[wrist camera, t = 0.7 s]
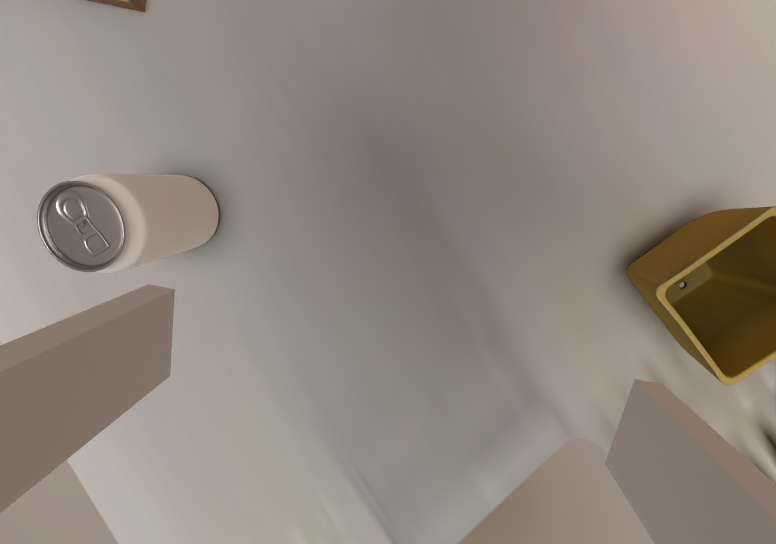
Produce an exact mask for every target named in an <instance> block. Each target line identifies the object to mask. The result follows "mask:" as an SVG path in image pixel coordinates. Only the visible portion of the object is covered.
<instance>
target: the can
mask: <svg viewBox="0 0 776 544" xmlns="http://www.w3.org/2000/svg"><path fill="white" fill-rule="evenodd" d="M218 219H219V213H218V207H217V203H216V201H215V198H214V197H213V195H212V193H211V192H210V191H209V189H208V188H207V187H206V186H205V185H204V184H202V183H201V182H200V181H198V180H196V179H194V178H192V177H188V176H183V175H154V174H89V175H83V176H79V177H76V178H74V179H72V180H70V181H66V182H62V183H60V184H57V185H55V186H54V187H52V188H51V189H50V190H49V191H48V192H47V193H46V194H45V195H44V197H43V198H42V200H41V202H40V205H39V208H38V214H37V224H38V230H39V233H40V236H41V239H42V241H43V243H44V245H45V246H46V248H47V249H48V251H49V252H50V253H51V254H52V255H53V256H54V257H55V258H56V259H57V260H58V261H59V262H61V263H62V264H64V265H65V266H67V267H69V268H71V269H74V270H77V271H82V272H95V271H96V272H103V273H110V272H117V271H122V270H125V269H129V268H132V267H136V266H139V265H142V264H146V263H149V262H152V261H155V260H159V259H162V258H165V257H168V256H171V255H175V254H178V253H181V252H184V251H187V250H190V249H193V248H196V247H199V246H201V245H203V244H205V243H206V242H207V241H208V240H209V239H210V238H211V237H212V236H213V234H214V233H215V231H216V228H217V225H218Z"/></svg>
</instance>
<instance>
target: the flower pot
mask: <svg viewBox="0 0 776 544" xmlns="http://www.w3.org/2000/svg"><path fill="white" fill-rule="evenodd" d="M627 276H628V278H629V279H630V281H631V282H632V283H633V284H634V286H635V287H636V288H637V289H638V291H639V292H640V293H641V294H642V296H643V297H644V298H645V300H646V301H647V302H648V303H649V305H650V306H651V307H652V309H653V310H654V311H655V313H656V314H657V315H658V317H659V318H660V319H661V320H662V322H663V323H664V324H665V326H666V327H667V329H668V330H669V331H670V333H671V334H672V335H673V337H674V338H675V339H676V341H677V342H678V343H679V344H680V345H681V346H682V347H683V348H684V349H685V350H686V351H687V352H688V353H689V354H690V355H691V356H692V357H694V358H695V359H696V360H697V361H698V362H699V363H700V364H701V365H703V366H704V367H705V368H706V369H707V370H708V371H709V372H710V373H712V374H713V375H714V376H715V377H716V378H717V379H718V380H719V381H721V382H722V383H723V384H725V385H727V386H730V385H732V384H734V383H736V382H738V381H740V380H741V379H743V378H744V377H746V376H747V375H749V374H750V373H752V372H754V371H755V370H757V369H759V368H760V367H762V366H763V365H765V364H766V363H768V362H769V361H771V360H772V359H774V358H775V357H776V206H773V207H761V208H744V209H729V210H721V211H716V212H712V213H709V214H706V215H703V216H701V217H699V218H697V219H695V220H693V221H691V222H689V223H688V224H686V225H685V226H683V227H682V228H680V229H679V230H677V231H676V232H675V233H673V234H672V235H671V236H669V237H668V238H667V239H665V240H664V241H662V242H661V243H660V244H658V245H657V246H656V247H654V248H653V249H651V250H650V251H649V252H647V253H646V254H644V255H643V256H642V257H640V258H639V259H637V260H636V261H635V262H633V263H632V264H631V265H630V266H629V267H628V268H627ZM681 282H685V287H684V288H680V287H679V284H680V283H681Z"/></svg>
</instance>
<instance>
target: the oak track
mask: <svg viewBox="0 0 776 544" xmlns="http://www.w3.org/2000/svg"><path fill="white" fill-rule="evenodd" d="M89 1H94V2H99V3H104V4H109V5H114V6H118V7H123V8H128V9H133V10H138V11H143V12H145V0H89Z"/></svg>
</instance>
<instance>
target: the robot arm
mask: <svg viewBox="0 0 776 544" xmlns="http://www.w3.org/2000/svg"><path fill="white" fill-rule="evenodd" d="M174 291H175V289H170V288H165V287H159V286H154V285H146V286H144V287H141V288H139V289H137V290H134V291H132V292H129V293H127V294H124V295H122V296H120V297H117V298H115V299H112V300H110V301H108V302H105V303H103V304H100V305H98V306H95V307H93V308H91V309H88V310H86V311H83V312H81V313H79V314H76V315H74V316H71V317H69V318H66V319H64V320H62V321H59V322H57V323H54V324H52V325H49V326H47V327H45V328H42V329H40V330H37V331H35V332H33V333H30V334H28V335H25V336H23V337H20V338H18V339H16V340H13V341H11V342H8V343H6V344H3V345H1V346H0V513H1V512H2V511H3V510H5V509H6V508H7V507H8V506H10V505H11V504H12V503H13V502H15V501H16V500H17V499H18V498H20V497H21V496H22V495H23V494H24V493H26V492H27V491H28V490H29V489H31V488H32V487H33V486H34V485H36V484H37V483H38V482H39V481H41V480H42V479H43V478H44V477H45V476H47V475H48V474H49V473H50V472H52V471H53V470H54V469H55V468H57V467H58V466H59V465H60V464H62V463H63V462H64V461H65V460H66V459H68V458H69V457H70V456H71V455H73V454H74V453H75V452H76V451H78V450H79V449H80V448H81V447H83V446H84V445H85V444H86V443H88V442H89V441H90V440H91V439H92V438H94V437H95V436H96V435H97V434H99V433H100V432H101V431H102V430H104V429H105V428H106V427H107V426H109V425H110V424H111V423H112V422H113V421H115V420H116V419H117V418H118V417H120V416H121V415H122V414H123V413H125V412H126V411H127V410H128V409H130V408H131V407H132V406H133V405H134V404H136V403H137V402H138V401H139V400H141V399H142V398H143V397H144V396H146V395H147V394H148V393H149V392H151V391H152V390H153V389H154V388H156V387H157V386H158V385H159V384H160V383H162V382H163V381H164V380H165V379H167V378H168V377H169V376H170V367H171V348H172V329H173V310H174ZM605 464H606V466H607V468H608V469H609V471H610V472H611V474H612V476H613V477H614V479H615V480H616V482H617V484H618V485H619V487H620V489H621V490H622V492H623V493H624V495H625V497H626V498H627V500H628V501H629V503H630V504H631V506H632V508H633V509H634V511H635V512H636V514H637V516H638V517H639V519H640V521H641V522H642V524H643V525H644V527H645V529H646V530H647V532H648V533H649V535H650V537H651V538H652V540H653V542H654V543H655V544H776V485H775V484H774V483H773V482H772V481H771V480H770V479H769V478H768V477H766V476H765V475H764V474H763V473H762V472H761V471H760V470H759V469H757V468H756V467H755V466H754V465H753V464H752V463H751V462H750V461H748V460H747V459H746V458H745V457H744V456H743V455H742V454H741V453H739V452H738V451H737V450H736V449H735V448H734V447H733V446H732V445H730V444H729V443H728V442H727V441H726V440H725V439H724V438H723V437H721V436H720V435H719V434H718V433H717V432H716V431H715V430H714V429H712V428H711V427H710V426H709V425H708V424H707V423H706V422H705V421H703V420H702V419H701V418H700V417H699V416H698V415H697V414H696V413H694V412H693V411H692V410H691V409H690V408H689V407H688V406H687V405H685V404H684V403H683V402H682V401H681V400H680V399H679V398H678V397H676V396H675V395H674V394H673V393H672V392H671V391H670V390H669V389H667V388H666V387H665V386H664V385H663V384H658V383H653V382H647V381H642V380H637V379H635V380H634V383H633V386H632V389H631V392H630V394H629V397H628V400H627V403H626V406H625V409H624V412H623V414H622V417H621V420H620V423H619V426H618V429H617V432H616V434H615V437H614V440H613V443H612V446H611V449H610V452H609V454H608V457H607V460H606V463H605Z"/></svg>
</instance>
